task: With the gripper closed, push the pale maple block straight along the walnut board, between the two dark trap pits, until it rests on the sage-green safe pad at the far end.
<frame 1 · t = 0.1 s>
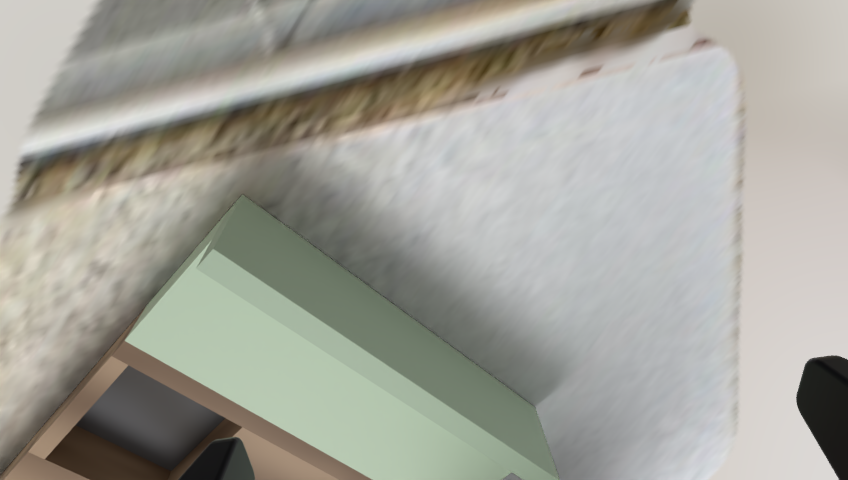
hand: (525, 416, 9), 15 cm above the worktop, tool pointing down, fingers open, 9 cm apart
trap board: (229, 478, 30), on the worktop
safe pad: (351, 366, 27), on the worktop
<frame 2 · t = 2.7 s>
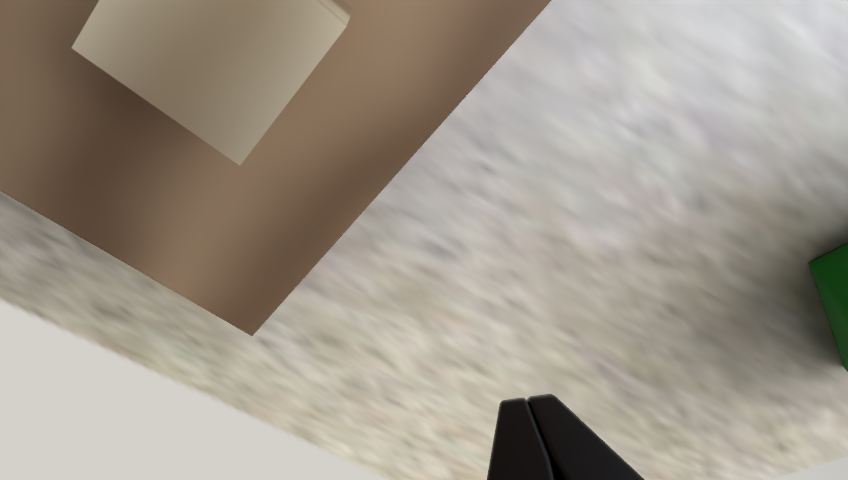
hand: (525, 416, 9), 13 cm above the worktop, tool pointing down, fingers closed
maple block: (249, 15, 15), point 2 cm above the worktop, touching trap board
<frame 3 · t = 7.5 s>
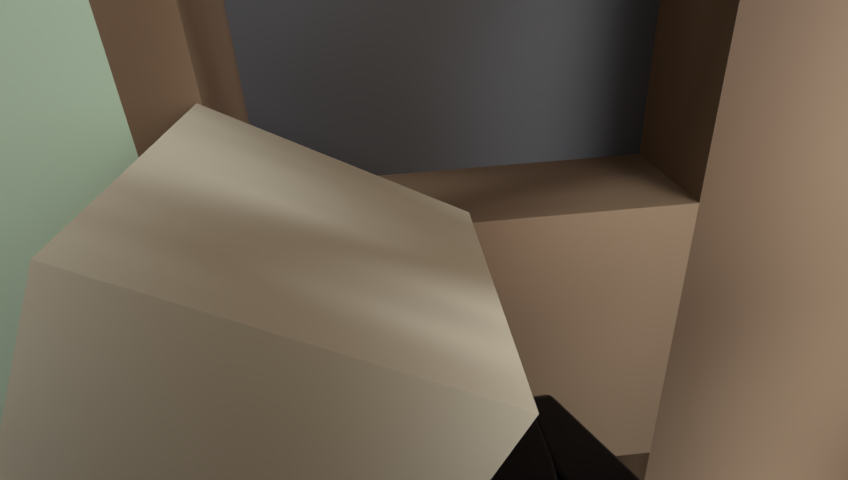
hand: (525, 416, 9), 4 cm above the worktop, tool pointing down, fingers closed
trap board: (571, 274, 12), on the worktop
maple block: (294, 274, 9), point 3 cm above the worktop, touching gripper
safe pad: (95, 318, 12), on the worktop
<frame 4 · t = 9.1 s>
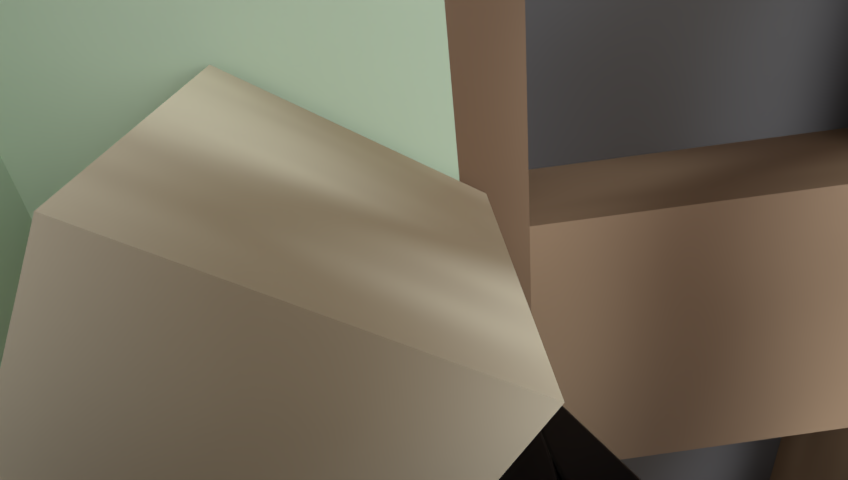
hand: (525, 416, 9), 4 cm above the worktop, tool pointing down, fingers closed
trap board: (778, 250, 12), on the worktop
maple block: (302, 250, 8), point 3 cm above the worktop, touching gripper, safe pad
safe pad: (317, 312, 12), on the worktop
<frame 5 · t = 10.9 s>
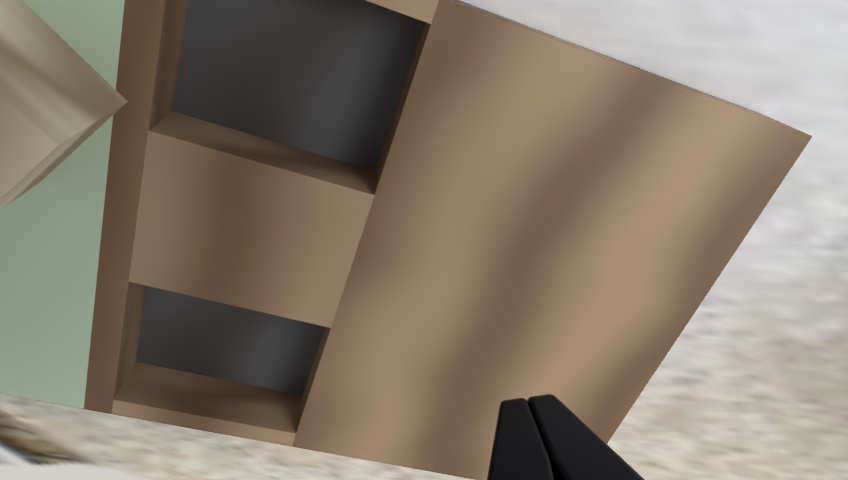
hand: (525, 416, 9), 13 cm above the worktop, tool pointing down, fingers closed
trap board: (328, 225, 21), on the worktop
maple block: (22, 89, 16), point 2 cm above the worktop, touching safe pad, trap board
safe pad: (42, 148, 19), on the worktop
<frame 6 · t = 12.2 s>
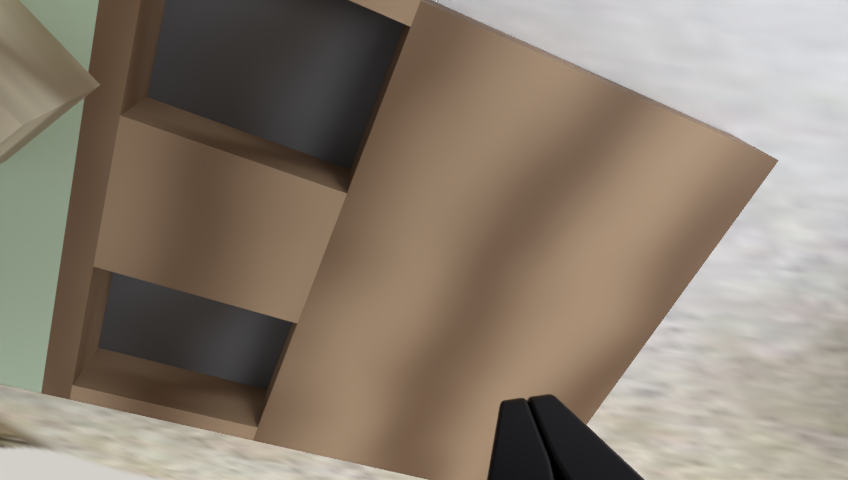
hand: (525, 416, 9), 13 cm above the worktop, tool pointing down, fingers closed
trap board: (301, 221, 21), on the worktop
safe pad: (11, 127, 19), on the worktop
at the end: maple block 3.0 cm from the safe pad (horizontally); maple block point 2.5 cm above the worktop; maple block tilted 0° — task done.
